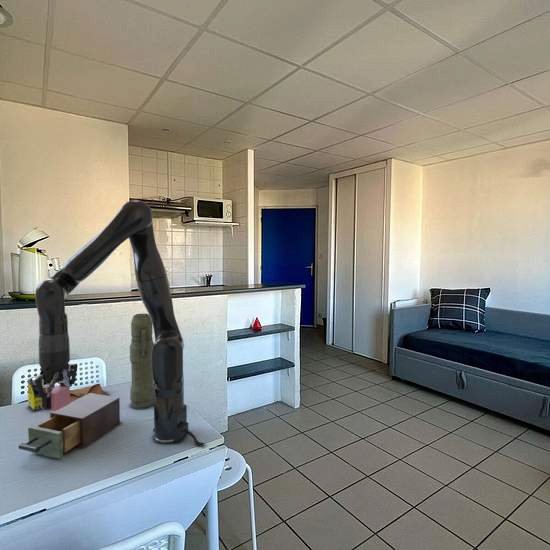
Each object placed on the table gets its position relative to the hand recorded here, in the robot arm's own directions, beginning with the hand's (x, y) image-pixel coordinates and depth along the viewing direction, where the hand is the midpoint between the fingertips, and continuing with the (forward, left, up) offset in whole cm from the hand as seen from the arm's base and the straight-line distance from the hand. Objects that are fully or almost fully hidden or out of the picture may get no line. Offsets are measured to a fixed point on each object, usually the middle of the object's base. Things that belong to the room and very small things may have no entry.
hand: (56, 404), depth 102 cm
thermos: (-3, -35, -15) cm, 38 cm away
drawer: (+1, -1, -14) cm, 14 cm away
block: (0, 0, 0) cm, 0 cm away
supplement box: (+32, -21, -15) cm, 41 cm away
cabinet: (+1, -12, -14) cm, 19 cm away
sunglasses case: (+22, -30, -15) cm, 40 cm away
